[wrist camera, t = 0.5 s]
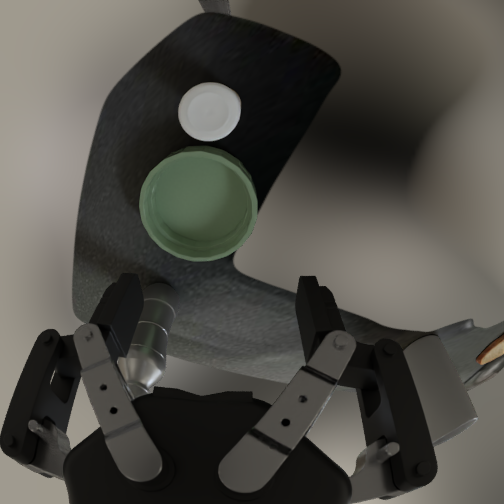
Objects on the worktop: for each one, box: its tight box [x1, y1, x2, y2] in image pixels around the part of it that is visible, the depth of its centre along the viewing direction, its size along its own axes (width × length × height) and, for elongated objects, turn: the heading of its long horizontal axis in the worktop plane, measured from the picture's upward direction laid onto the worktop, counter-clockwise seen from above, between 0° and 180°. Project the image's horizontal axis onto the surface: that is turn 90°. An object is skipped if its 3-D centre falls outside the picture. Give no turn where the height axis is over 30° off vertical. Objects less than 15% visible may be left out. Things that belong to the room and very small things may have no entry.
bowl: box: [139, 146, 257, 261], centre depth 34 cm, size 14×14×4 cm
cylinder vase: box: [403, 335, 478, 447], centre depth 46 cm, size 12×12×25 cm
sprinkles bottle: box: [178, 82, 241, 141], centre depth 23 cm, size 5×5×13 cm
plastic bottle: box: [118, 283, 179, 398], centre depth 35 cm, size 6×7×20 cm
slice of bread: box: [476, 334, 504, 364], centre depth 62 cm, size 18×18×4 cm
